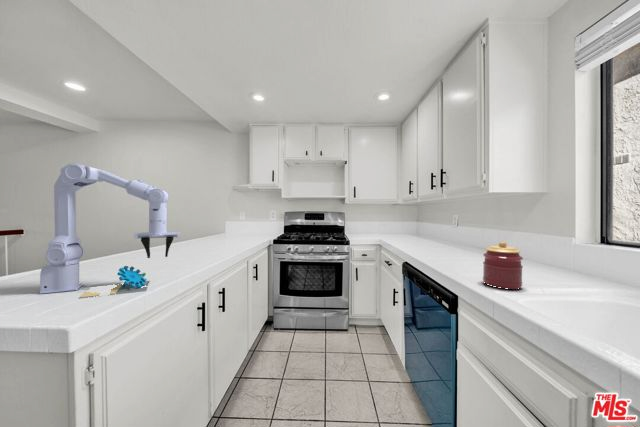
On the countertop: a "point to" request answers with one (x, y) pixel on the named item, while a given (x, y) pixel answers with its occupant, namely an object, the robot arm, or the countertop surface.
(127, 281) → the gear
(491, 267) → the canister
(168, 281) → the countertop surface
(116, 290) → the mat
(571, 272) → the countertop surface
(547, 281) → the countertop surface
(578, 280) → the countertop surface
